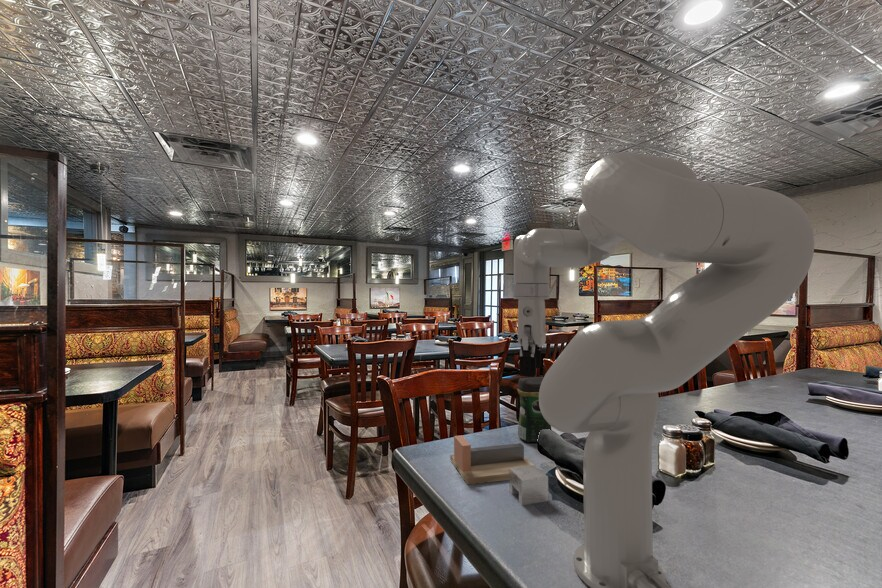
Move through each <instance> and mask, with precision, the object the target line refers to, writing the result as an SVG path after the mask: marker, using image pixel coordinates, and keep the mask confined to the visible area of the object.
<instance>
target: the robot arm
mask: <svg viewBox="0 0 882 588" xmlns="http://www.w3.org/2000/svg"><path fill="white" fill-rule="evenodd" d="M580 196H581V197H580V198H581V202H582V204H581V206H580V207H579V210H578V211H577V226H578V228H579V229H578V230H577V229H565V228H546V227H540V228H534V229H532V230H530V231H528V232H527V234H521V235H518V236H516V238H515V239H514V242H513V300H518V301H517V302H518V303H517V304H518V306H517V307H518V308H517V343H518V345H519V346H520V350H519V359H518V360H519V361H518V363H519V367H518V368H519V371H518V373H519V374H518V375H519V376H520V377H526V378H529V377H536V372H537V371H536V369H540V368H541V367H542V350H541V348H542V346H544V344H545V343H546V341H547V332H546V328H547V327H546V301H545V300H550V268H573V269H574V268H576V269H577V268H584V267H588V266H589V267H590V266H592V265H594V264H596V263H599V262H602V261H604V260H606V259H609V258H610V257H611V256H612V255H613V254H614V252H615V251H616V250H617V248H618V246H619V244H620V243H622V242H624V241H625V242H626V243H628V244H630V245H631V246H633V247H634V248H635V249H637V250H639V251H640V252H642V253H644V254H646V255H647V256H649V257H652V258H655V259H658V260H662V261H667V262H674V263H675V262H676V263H698V264H699V263H700V264H709V265H708V266H707V267H706V268H705V269H703V270H702V271H701V272H699V273H697V274H695V275H694V276H692V277H690V278H689V279H687V280H685V281H684V282H682V283H680V284H679V285H677V286H676V287H675V288H674V289H673V290H672V291H670V293H669V294H668V295H667V296H666V297H665V298H664V300H662V302H661V303H660V304H659V305H658V306H657V307H656V308H654V309H653V310H652V311H651V312H650V313H649V314H648V315H646V316H644V317H641V318H637V319H627V320H624V319H623V320H604V321H603V320H602V321H599V322H598V321H597V322H593V323H591V324H589V325H587V326H585V327H584V328H582V329H580V330H579V331H577V333H576V334H574V336H573V338H572V339H570V341H569V342H568V344H567V345H566V346H565V348H564V349H563V350H562V351H561V353H560V354H559V356H557V358H556V359H555V360H554V362H553V363H552V365H550V367H549V368H548V370H547V371H546V373H544V378H543V380H542V383H541V386H540V390H539V406H540V410H541V413H542V415H543V417H544V419H545V420H546V421H547V423H548V424H549V425H550V426H551V428H553V429H554V430H556V431H558V432H561V433H566V434H581V433H588V435H587V438H586V440H585V443H584V447H583V457H582V458H583V459H582V460H583V461H582V462H583V465H582V466H583V467H582V468H583V469H582V472H583V473H582V474H583V475H582V476H583V481H582V482H583V484H582V485H583V543H582V544H581V545H579V546H578V547H577V548H576V549H575V551H574V554H573V567H574V570H575V571H576V574H577V575H578V576H579V578H580V579H581V580H582V581H583V583H585V585H587V586H588V587H589V588H672V585H670V584H668V583H667V580H666V576H665V573H664V571H663V570H662V568H661V567H660V566H659V560H658V559H657V558H655V557H654V542H653V541H654V539H653V538H654V537H653V536H654V534H653V532H654V531H653V525H654V524H653V441H654V433H655V427H656V424H657V423H656V422H657V418H658V413H659V405H660V404H659V403H660V399H659V398H660V397H659V393H665V392H668V391H672V390H675V389H678V388H679V387H681V386H683V385H684V384H685V383H687V382H688V381H689V380H690V379H691V378H692V377H694V376H695V375H697V373H699V372H700V371H702V369H704V368H705V367H706V366H708V365H709V364H710V363H712V362H713V361H714V360H715V359H716V358H718V357H719V356H720V355H722V354H723V353H724V352H725V351H727V350H728V348H730V347H731V346H732V345H733V344H735V343H736V342H737V341H739V339H741V338H742V337H743V336H745V335H746V334H748V333H749V332H750V331H751V330H753V329H754V328H755V327H757V326H758V325H759V324H761V323H762V322H764V321H765V320H766V319H768V317H770V316H771V315H773V314H774V313H775V312H776V311H778V310H779V308H781V307H782V306H783V305H784V304H785V303H786V302H787V301H788V300H789V299H790V298H792V296H793V295H794V294H795V293H796V292H797V290H799V288H800V286H801V285H802V283H803V282H804V280H805V278H806V277H807V274H808V272H809V270H810V267H811V264H812V261H813V257H814V253H815V235H814V231H813V225H812V223H811V220H810V218H809V216H808V214H807V213H806V211H805V210H804V209H803V207H802V206H801V205H800V204H799V203H798V202H796V201H795V200H793V199H792V198H790V197H789V196H786V195H785V194H782V193H780V192H778V191H775V190H771V189H767V188H763V187H758V186H752V185H743V184H735V183H724V182H723V183H722V182H715V181H707V180H698V178H697V176H696V174H695V171H694V170H693V169H692V168H691V167H689V166H688V165H687V164H685V163H683V162H682V161H680V160H677V159H674V158H672V157H671V158H670V157H665V156H664V157H663V156H658V155H657V156H656V155H651V154H642V153H641V154H640V153H635V152H627V151H621V152H620V151H619V152H617V151H616V152H614V153H613V152H612V153H609V154H607V155H605V156H603V157H602V158H600V159H598V160H597V161H596V162H595V163H593V165H592V166H591V167H590V168H589V169H588V172H587V173H586V175H585V177H584V179H583V182H582V185H581V193H580Z"/></svg>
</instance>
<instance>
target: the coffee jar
mask: <svg viewBox="0 0 882 588" xmlns="http://www.w3.org/2000/svg"><path fill="white" fill-rule="evenodd" d="M543 378H544V377H543V376H535V377H520V378H519V379H518V382H517V384H518V385H517V393H518V395H519V404H520V405H519V418H518V431H517V435H518V438H519V439H520V438H521V439H522V441H523V440H524V441H523V442H526V441H527V442H526V443H529V442H537V439H538V435H539V432H540V430H542V429H550V430H551V431H552V426H550V425H549V424H548V423H547V421H546V420H545V419H544V417H543V415H542V413H541V410H540V406H539V390H540V386H541V383H542V380H543ZM521 439H520V440H521ZM537 443H538V442H537Z"/></svg>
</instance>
